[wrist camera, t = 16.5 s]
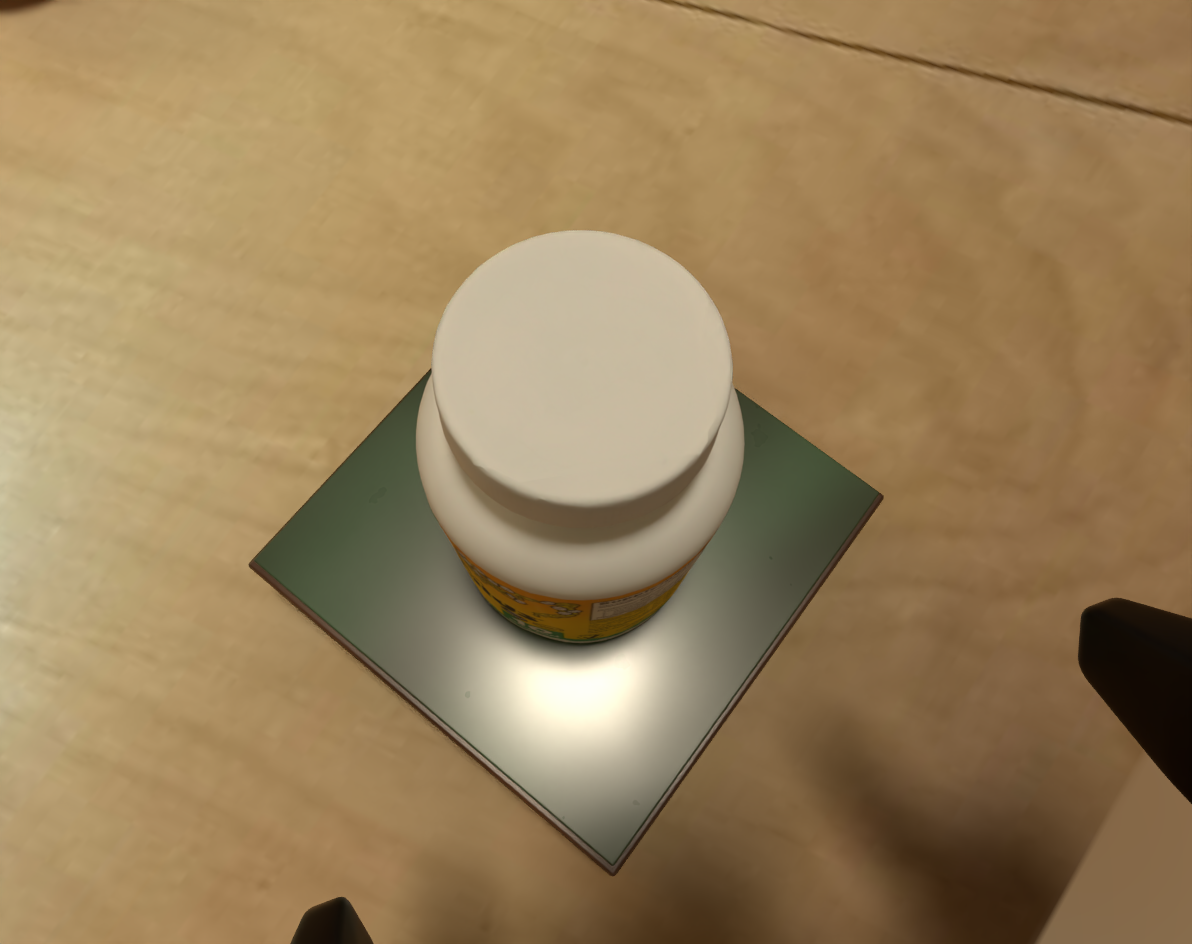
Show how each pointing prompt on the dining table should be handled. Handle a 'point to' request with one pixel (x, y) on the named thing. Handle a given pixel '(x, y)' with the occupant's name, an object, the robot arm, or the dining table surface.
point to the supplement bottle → (580, 431)
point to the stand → (555, 668)
